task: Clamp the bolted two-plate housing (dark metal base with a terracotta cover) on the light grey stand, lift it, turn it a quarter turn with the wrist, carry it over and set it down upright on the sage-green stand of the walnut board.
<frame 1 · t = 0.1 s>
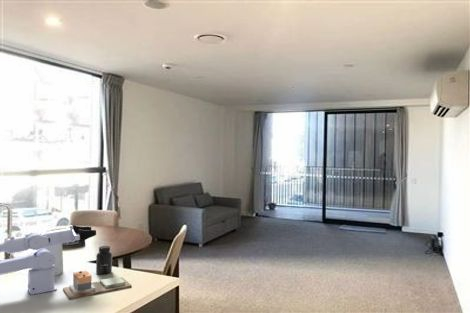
hand: (93, 230, 164), 22 cm above the kitchen counter, tool horizontal, fingers open, 7 cm apart
housing: (82, 286, 151), point 2 cm above the kitchen counter, touching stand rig
supplement bottle: (104, 273, 175), on the kitchen counter
skincare box: (51, 274, 173), on the kitchen counter
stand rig: (97, 288, 155), on the kitchen counter
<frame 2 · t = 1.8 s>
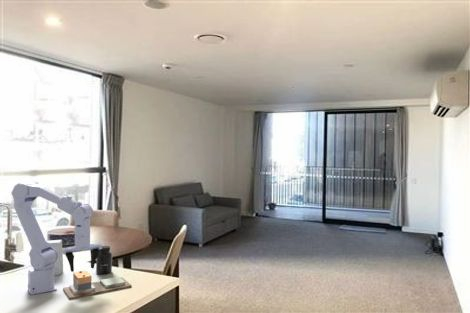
hand: (82, 269, 151), 9 cm above the kitchen counter, tool pointing down, fingers open, 7 cm apart
nothing on the kitchen counter moved.
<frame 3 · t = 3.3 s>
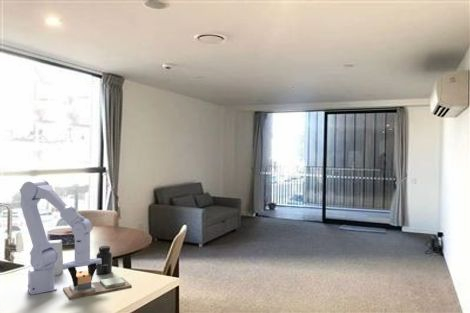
hand: (82, 284, 151), 3 cm above the kitchen counter, tool pointing down, fingers closed on housing, 5 cm apart
housing: (82, 286, 151), point 2 cm above the kitchen counter, touching gripper, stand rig
everything else where it was.
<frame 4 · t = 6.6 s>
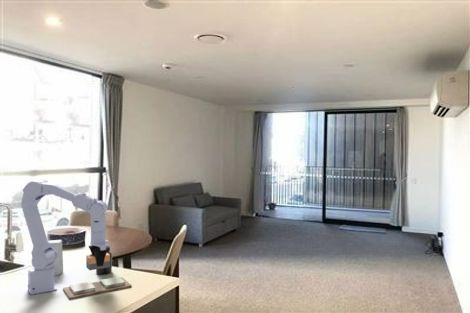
hand: (98, 264, 155), 10 cm above the kitchen counter, tool pointing down, fingers closed on housing, 5 cm apart
housing: (98, 267, 155), point 9 cm above the kitchen counter, touching gripper
everything else where it was.
when the fingers open (4 cm above the kitchen counter, at t = 10.0 s): housing stays where it is, resting on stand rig.
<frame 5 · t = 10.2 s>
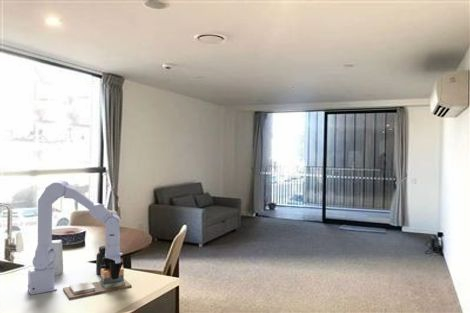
hand: (112, 276, 158), 4 cm above the kitchen counter, tool pointing down, fingers open, 7 cm apart
housing: (112, 281, 158), point 2 cm above the kitchen counter, touching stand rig
everything else where it was.
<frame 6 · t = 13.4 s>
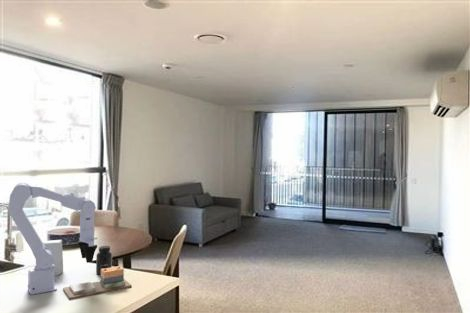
hand: (87, 259, 161), 10 cm above the kitchen counter, tool pointing down, fingers open, 7 cm apart
nothing on the kitchen counter moved.
at the end: housing 0.1 cm from the target spot on the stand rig, point 2.0 cm above the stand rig's base; housing tilted 0°; the gripper is holding nothing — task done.
